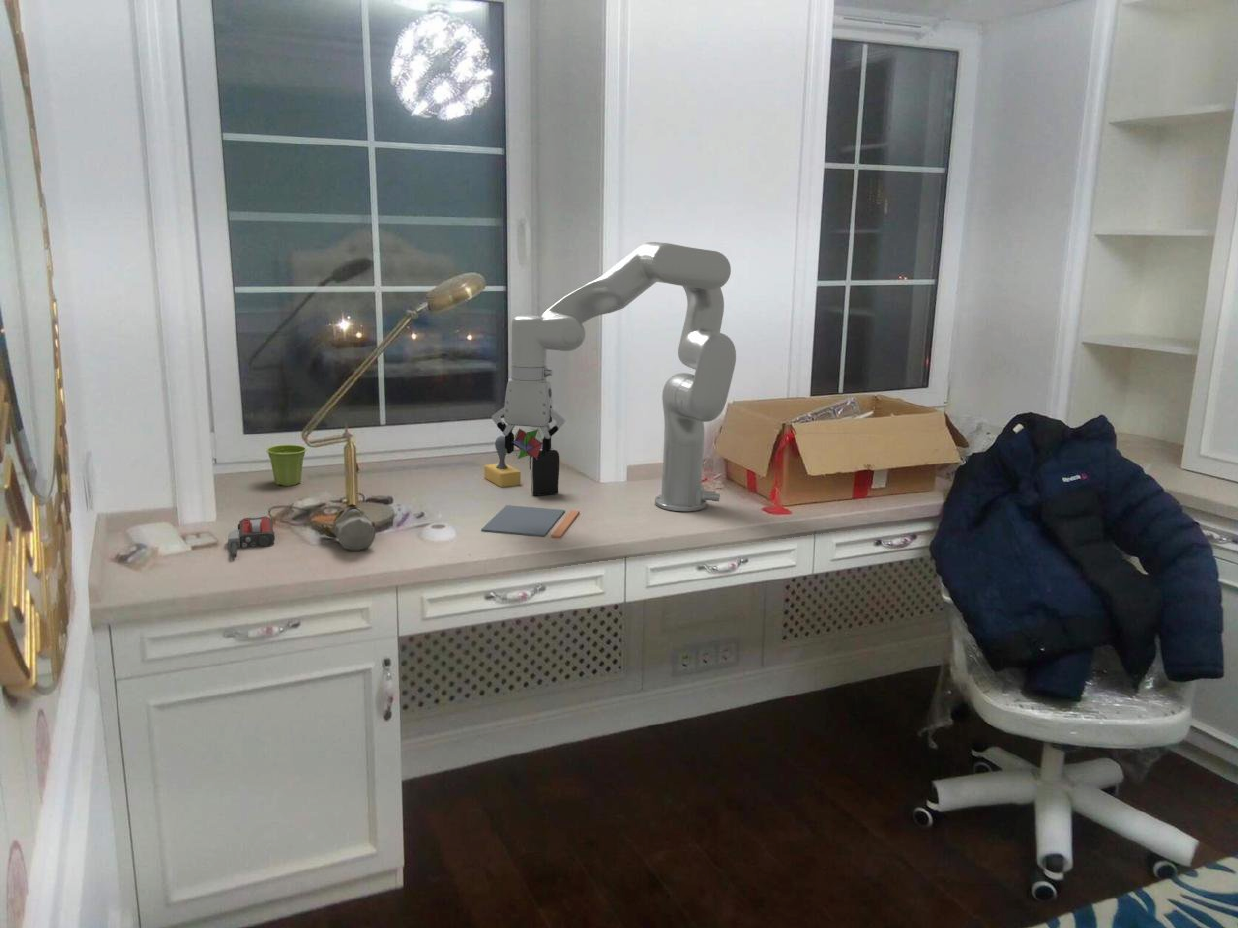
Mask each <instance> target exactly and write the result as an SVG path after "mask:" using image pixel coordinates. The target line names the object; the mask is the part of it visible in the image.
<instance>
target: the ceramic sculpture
mask: <svg viewBox="0 0 1238 928" xmlns="http://www.w3.org/2000/svg"><path fill="white" fill-rule="evenodd" d="M375 525H376V524H375V521H371V520H370V518H369V517H368V516H367V514H365V512H364V511H363V510H362V509H361V508H359V507H358V506H357V505H356V504H354V503H352V504H349V505H348V506H347V507H346V508H342V509H340V510H339V511H338V512H337V513H336V514H335V517H334V520H333V522H332V524H329V525H327V524H322V526H321V527H322V529H321V530H322V532H323V534H324V535H325V536H327V537H329V538H332V539H338V542H339V543H340V545H341V546H342V547H343V549H345V550H347V551H354V552H359V551H363V550H365V549H368V548H369V547H371V546H372V544H373V542H374V540H375V538H376V535H377V534H376V533H377V532H376V529H375Z"/></svg>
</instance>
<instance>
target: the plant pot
mask: <svg viewBox="0 0 1238 928" xmlns="http://www.w3.org/2000/svg"><path fill="white" fill-rule="evenodd" d="M307 450H308V449H307V447H305V446H302V445H296V444H279V445H273V446H270V447H268V448H266V450H265V451H266V453H267V454H268V457H269V459H270V465H271V469H272V475H273V480H274V484H275V485H277V486H278V485H279V486H280V485H281V486H284V487H287V486H288V487H289V486H296V485H297V484H301V481H302V472H303V462H304V457H305V452H307Z"/></svg>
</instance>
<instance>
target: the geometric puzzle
mask: <svg viewBox="0 0 1238 928" xmlns="http://www.w3.org/2000/svg"><path fill="white" fill-rule="evenodd" d="M538 433H539V436H541V434H540V432H539V429H538V428H537V429H533V430H532V431H528V432H527V431H525V430H524V429H521V428H519V429H518V430H517V432H516V433H515V434H514V439H513V440H514V441H513V442H512V443H513V444H514V446H513V447H514V448H518V449H519V450H520V452H519V455H518V454H517V452H515V454H516V457H517V459H518V460H519V459H523V458H524V457H530V455H531V457H533V458H535V459H536V460H537V458H538V454H539V451H540V449H541V448H542V440H543V438H541V439H540V441H539V440H538V439H537V438H536V436H537V434H538Z"/></svg>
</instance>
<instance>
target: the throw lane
mask: <svg viewBox="0 0 1238 928" xmlns="http://www.w3.org/2000/svg"><path fill="white" fill-rule="evenodd" d="M565 512H566V510H565V509H557V508H555V509H554V508H547V507H545V508H543V507H534V506H521V505H511V504H506V505H505V506H504V507H503V508H502V509H501V510H500V511H499V512H498V513H496V514H495V516H494V517H492V519H490V521H489V520H488V522H487V523H486V524H485V525H484V526H483V527H482V528H481V529H480V530H481V531H480V532H487V533H488V532H489V533H497V534H499V533H500V534H507V535H508V534H509V535H522V536H532V537H533V536H534V537H542V538H543V537H544V538H545V536H546V535H547V534H548V533H549V531H550V530H551V529H552V528H553V527H554V525H555V524H556V523H557V522H558V520H559V519H560V518H561V516H563V514H564V513H565ZM579 514H580V510H574V509H571V510H570V511H568V513H567V515H566V516H564V518H563V519H562V521H561V522H560V523H559V524H558V525H557V527H556V528H555V530H553V532H552V533H551V534H550V538H552V539H553V538H554V539H556V538H557V539H561V538H562V536H563V535H564V534H565V532H566V531H567V530H568V529H569V528H570V526H571V525H572V524H573V522H574V521H575V519H576V518H577V517H578V516H579Z"/></svg>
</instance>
